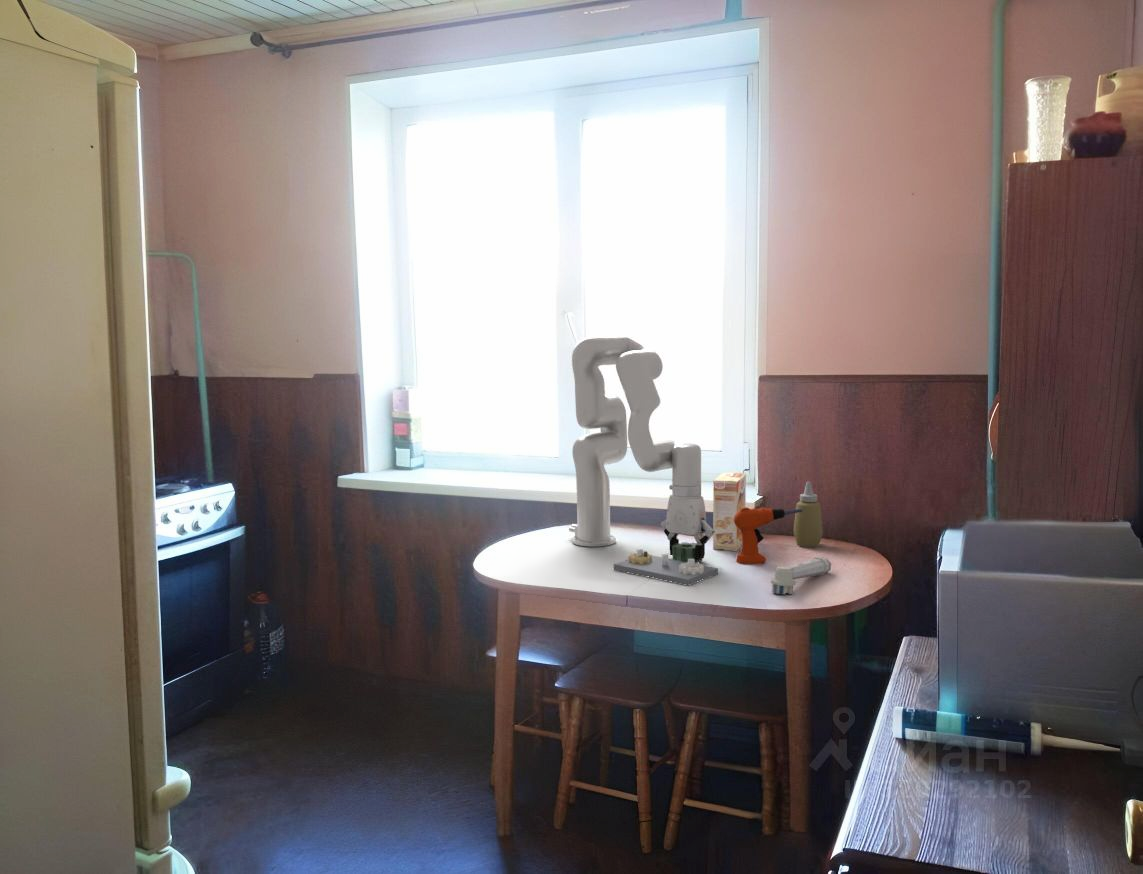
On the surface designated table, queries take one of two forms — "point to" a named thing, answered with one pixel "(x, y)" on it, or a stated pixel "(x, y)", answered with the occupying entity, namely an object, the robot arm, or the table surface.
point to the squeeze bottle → (808, 519)
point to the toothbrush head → (798, 574)
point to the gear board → (665, 568)
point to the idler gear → (684, 551)
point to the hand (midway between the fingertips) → (686, 556)
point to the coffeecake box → (728, 509)
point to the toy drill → (755, 531)
